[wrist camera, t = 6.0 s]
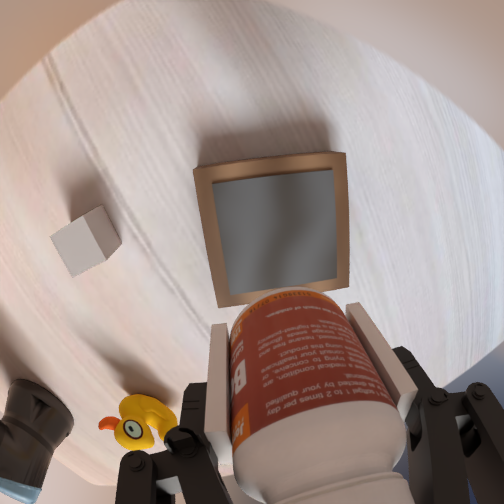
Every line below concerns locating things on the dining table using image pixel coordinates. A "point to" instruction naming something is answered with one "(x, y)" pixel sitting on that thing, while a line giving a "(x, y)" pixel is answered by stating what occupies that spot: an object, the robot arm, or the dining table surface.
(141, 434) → the duckling
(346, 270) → the podium
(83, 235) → the stone block
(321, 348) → the pill bottle
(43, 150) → the dining table surface
